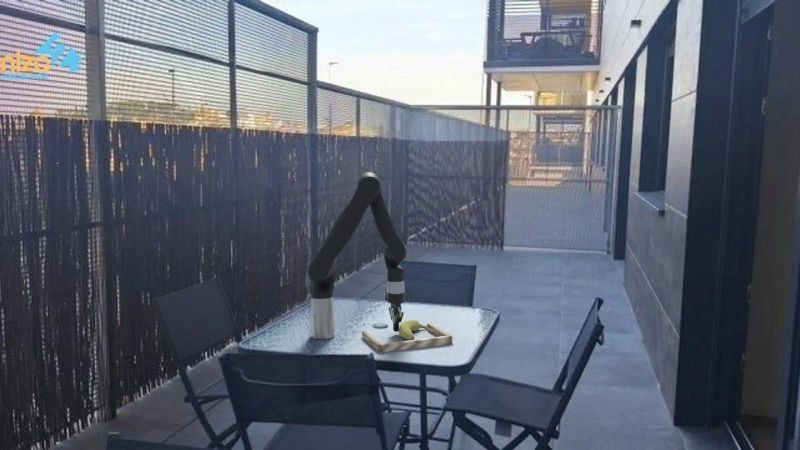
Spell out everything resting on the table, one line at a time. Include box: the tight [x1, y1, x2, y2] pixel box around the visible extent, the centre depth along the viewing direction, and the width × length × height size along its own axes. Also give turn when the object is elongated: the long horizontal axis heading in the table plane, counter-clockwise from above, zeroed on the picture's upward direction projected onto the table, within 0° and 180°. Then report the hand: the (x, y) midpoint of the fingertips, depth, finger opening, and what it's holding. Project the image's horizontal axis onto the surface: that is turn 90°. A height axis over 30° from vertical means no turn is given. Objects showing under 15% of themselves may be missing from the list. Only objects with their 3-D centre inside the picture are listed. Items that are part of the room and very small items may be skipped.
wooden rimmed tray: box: [361, 322, 453, 354], centre depth 286 cm, size 31×24×3 cm
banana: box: [398, 319, 427, 341], centre depth 296 cm, size 14×6×20 cm
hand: (396, 331), depth 296 cm, fingers closed
